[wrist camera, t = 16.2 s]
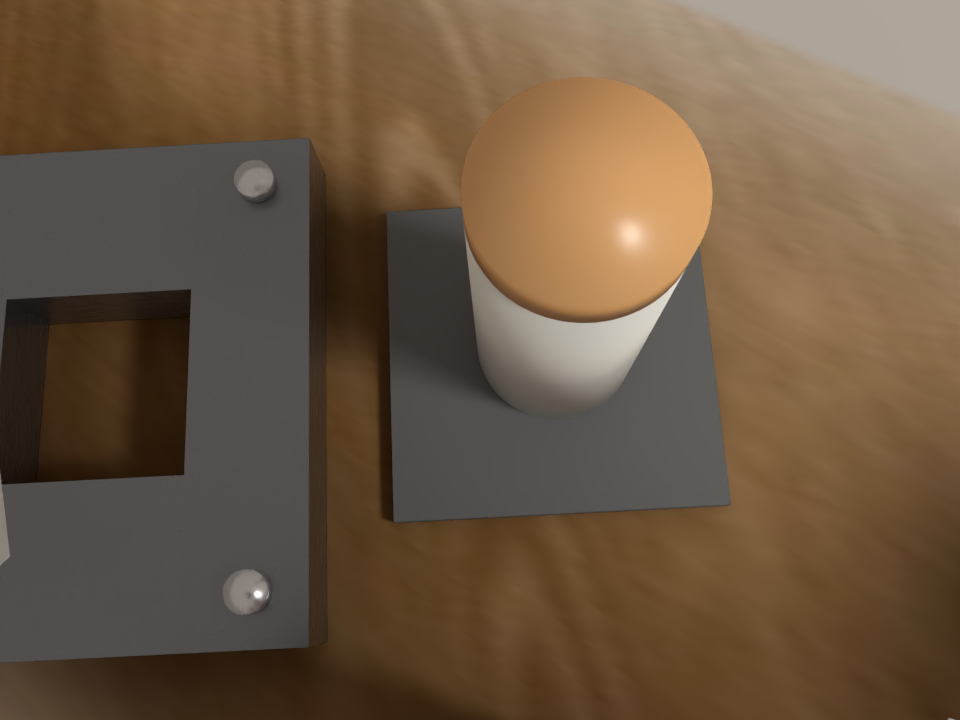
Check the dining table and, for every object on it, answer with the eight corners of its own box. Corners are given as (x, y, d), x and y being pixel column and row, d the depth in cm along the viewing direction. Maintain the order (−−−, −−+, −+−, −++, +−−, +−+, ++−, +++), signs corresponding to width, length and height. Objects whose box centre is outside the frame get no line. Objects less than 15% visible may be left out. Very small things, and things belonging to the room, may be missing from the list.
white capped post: (633, 273, 33) (710, 80, 21) (631, 423, 32) (714, 312, 19) (481, 267, 34) (467, 73, 21) (473, 416, 32) (453, 301, 20)
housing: (325, 175, 35) (305, 129, 32) (326, 642, 31) (304, 648, 27) (-43, 196, 36) (-102, 153, 32) (-97, 663, 31) (-173, 672, 27)
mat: (690, 200, 35) (693, 194, 34) (727, 505, 32) (730, 504, 31) (387, 217, 35) (386, 212, 34) (395, 522, 32) (393, 522, 31)
